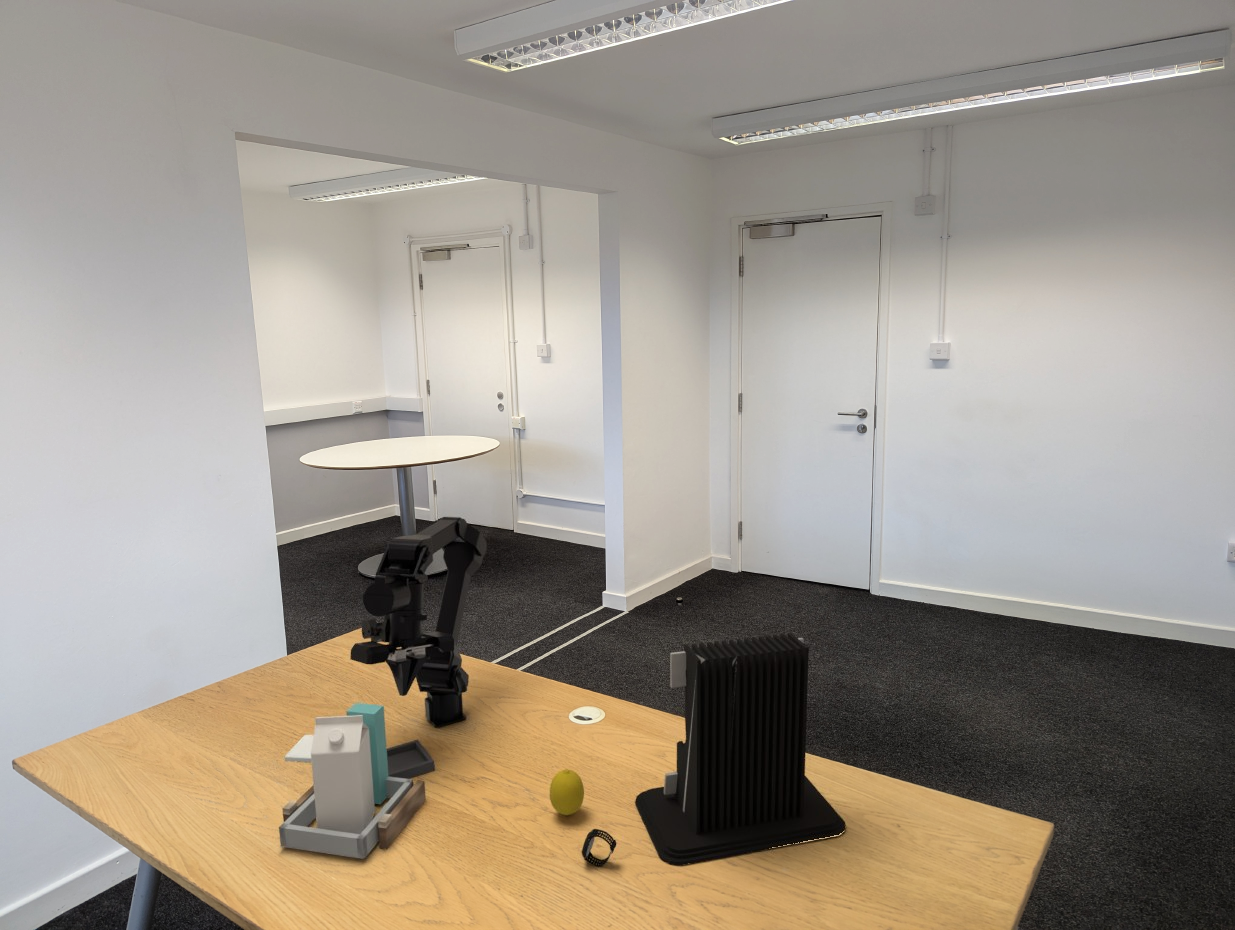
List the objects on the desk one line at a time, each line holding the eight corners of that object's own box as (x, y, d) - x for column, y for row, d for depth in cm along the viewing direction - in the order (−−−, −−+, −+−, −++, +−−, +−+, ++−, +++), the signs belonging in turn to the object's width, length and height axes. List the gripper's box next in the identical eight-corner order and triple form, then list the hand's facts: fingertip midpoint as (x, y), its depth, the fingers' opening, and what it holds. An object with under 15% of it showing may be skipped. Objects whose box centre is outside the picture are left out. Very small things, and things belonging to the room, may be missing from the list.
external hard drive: (306, 741, 155) (368, 743, 154) (285, 764, 147) (350, 766, 146) (305, 733, 155) (368, 735, 154) (284, 756, 147) (349, 758, 146)
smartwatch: (594, 850, 121) (593, 820, 120) (620, 864, 118) (620, 833, 117) (575, 864, 118) (574, 833, 117) (602, 879, 115) (601, 848, 114)
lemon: (589, 808, 132) (588, 763, 130) (576, 828, 127) (575, 782, 125) (558, 802, 133) (557, 758, 132) (544, 821, 128) (543, 776, 127)
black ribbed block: (797, 771, 142) (802, 609, 137) (852, 835, 124) (861, 652, 119) (631, 797, 135) (629, 628, 130) (664, 869, 117) (663, 676, 112)
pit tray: (418, 748, 151) (417, 739, 151) (434, 770, 143) (434, 761, 143) (370, 762, 146) (369, 753, 146) (384, 786, 139) (383, 776, 138)
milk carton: (330, 815, 131) (321, 706, 127) (375, 812, 131) (367, 704, 128) (318, 843, 124) (308, 729, 120) (365, 840, 124) (357, 726, 121)
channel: (331, 787, 138) (329, 763, 138) (425, 799, 135) (424, 775, 134) (284, 834, 126) (282, 808, 125) (387, 849, 122) (385, 822, 121)
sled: (338, 787, 137) (331, 700, 135) (414, 797, 134) (408, 708, 132) (280, 846, 122) (271, 749, 119) (364, 858, 119) (356, 759, 116)
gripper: (421, 598, 157) (418, 678, 157) (335, 607, 143) (331, 696, 142) (458, 605, 150) (455, 689, 150) (370, 615, 136) (367, 708, 135)
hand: (402, 695), depth 144 cm, fingers closed
